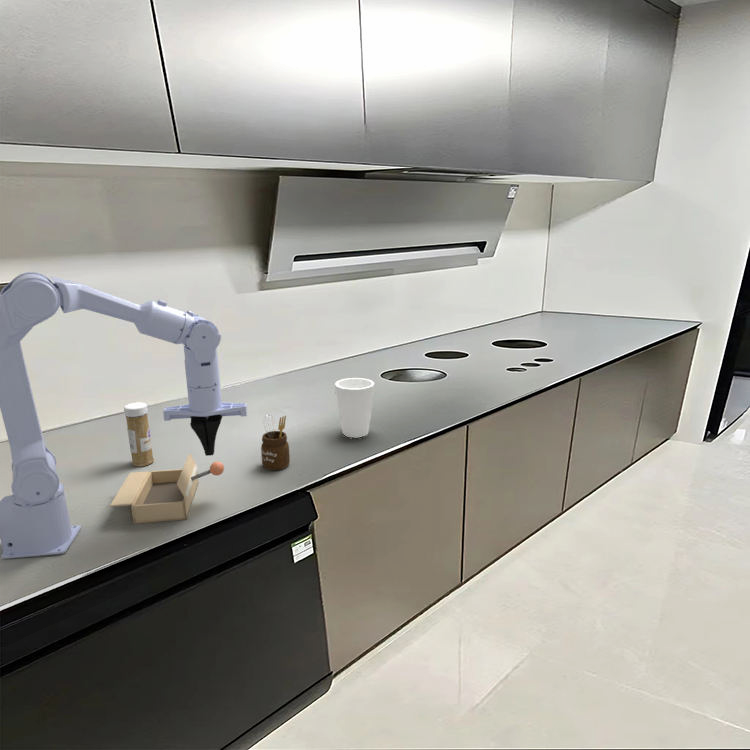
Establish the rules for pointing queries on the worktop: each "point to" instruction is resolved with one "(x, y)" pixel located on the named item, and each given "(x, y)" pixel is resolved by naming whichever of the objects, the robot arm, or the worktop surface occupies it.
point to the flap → (190, 471)
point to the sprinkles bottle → (139, 434)
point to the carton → (155, 496)
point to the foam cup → (355, 405)
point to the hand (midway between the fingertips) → (210, 453)
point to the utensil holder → (275, 448)
